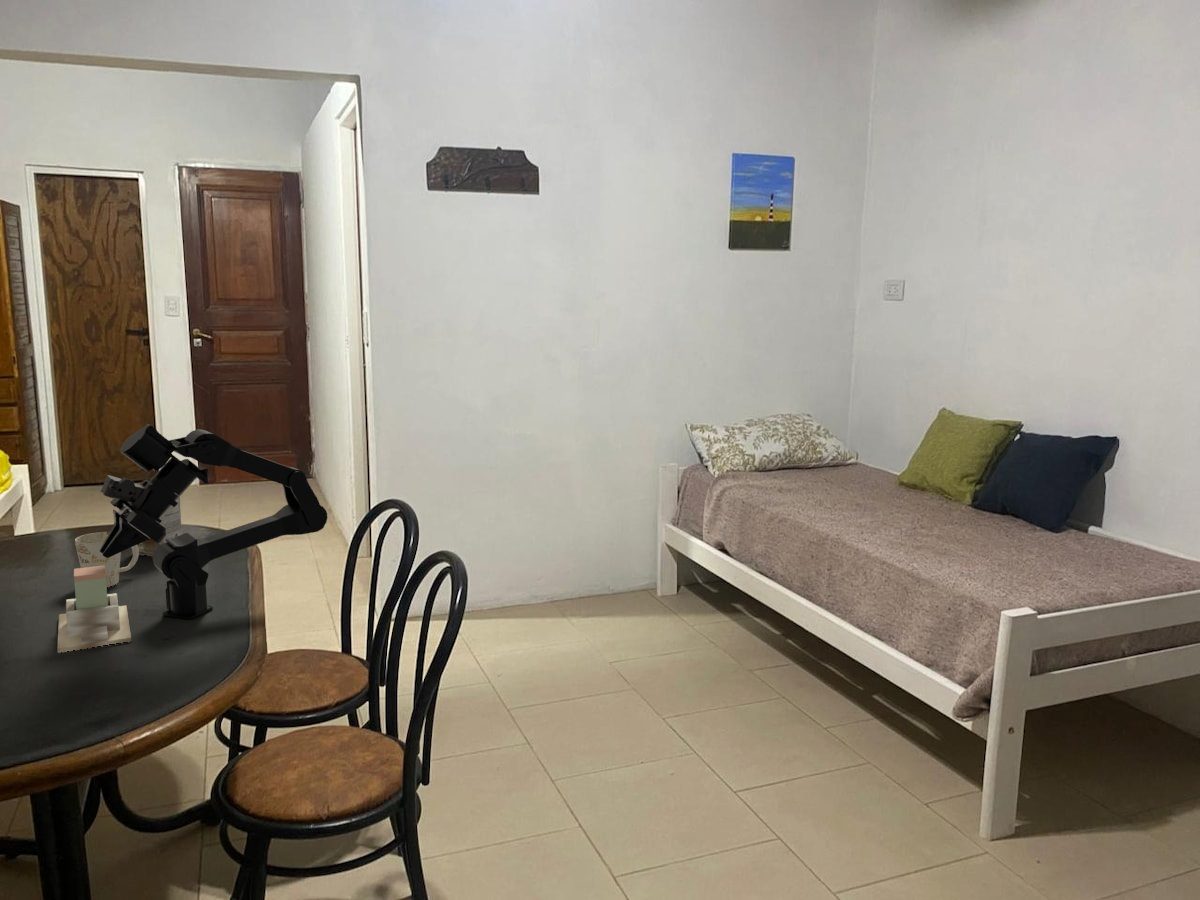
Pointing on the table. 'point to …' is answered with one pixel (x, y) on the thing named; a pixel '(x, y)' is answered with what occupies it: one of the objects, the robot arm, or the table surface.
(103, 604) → the block
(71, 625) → the card holder
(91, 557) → the mug
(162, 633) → the table surface
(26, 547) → the table surface
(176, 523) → the coffee box
